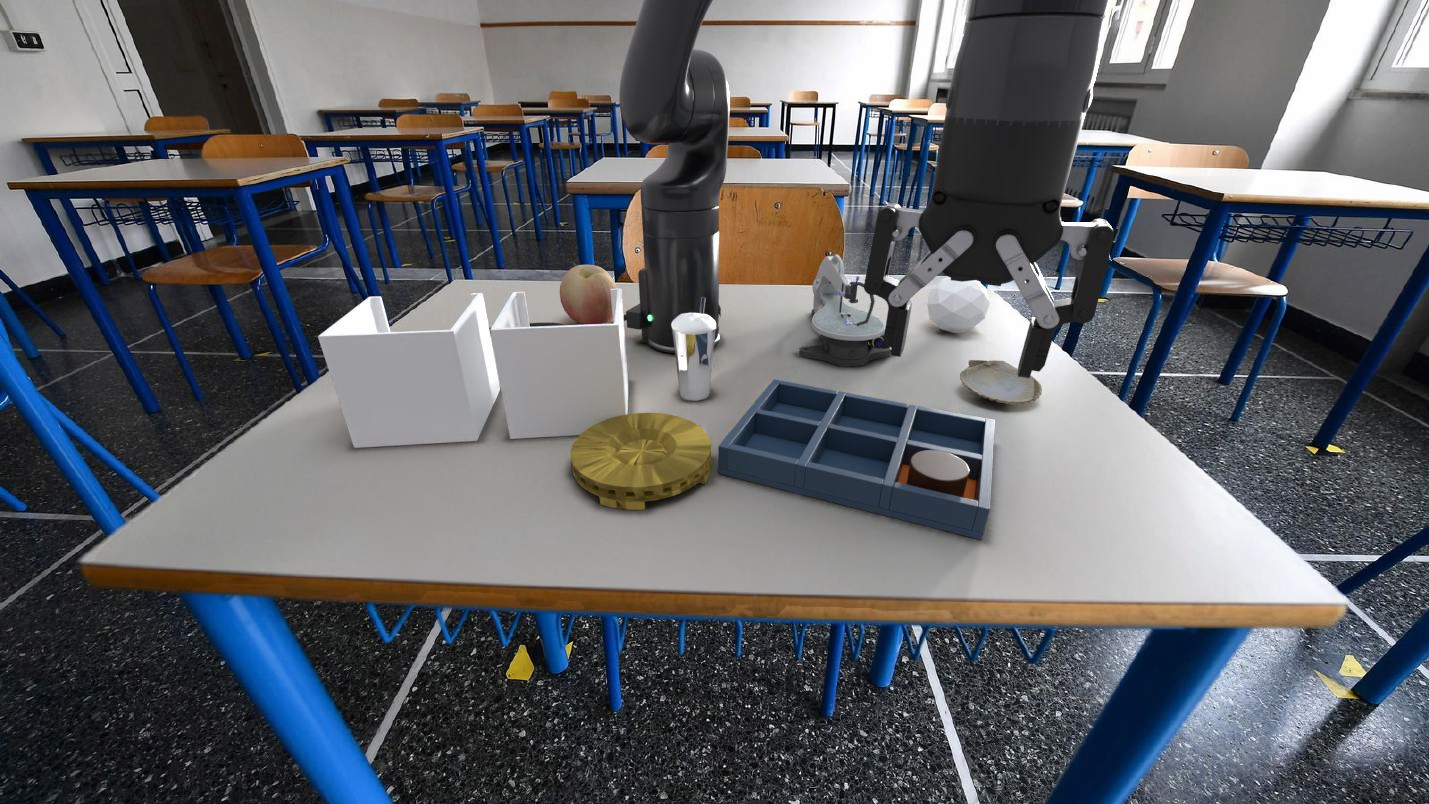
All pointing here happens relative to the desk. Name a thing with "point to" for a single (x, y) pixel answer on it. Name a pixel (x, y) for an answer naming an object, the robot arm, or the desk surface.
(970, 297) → the geometric ball
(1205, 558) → the desk surface
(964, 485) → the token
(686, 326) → the milkshake
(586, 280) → the fruit
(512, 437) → the white open box
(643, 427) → the gold notched disc
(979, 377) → the seashell
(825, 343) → the scroll saw
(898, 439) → the grid
